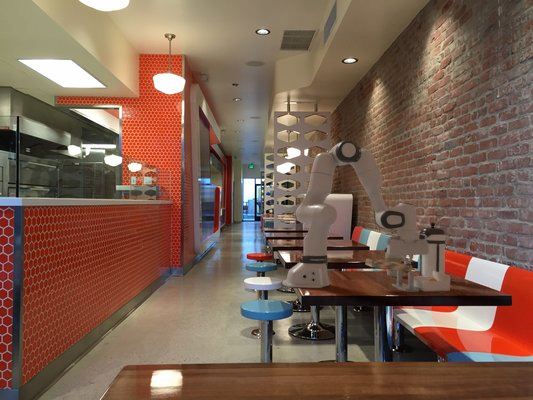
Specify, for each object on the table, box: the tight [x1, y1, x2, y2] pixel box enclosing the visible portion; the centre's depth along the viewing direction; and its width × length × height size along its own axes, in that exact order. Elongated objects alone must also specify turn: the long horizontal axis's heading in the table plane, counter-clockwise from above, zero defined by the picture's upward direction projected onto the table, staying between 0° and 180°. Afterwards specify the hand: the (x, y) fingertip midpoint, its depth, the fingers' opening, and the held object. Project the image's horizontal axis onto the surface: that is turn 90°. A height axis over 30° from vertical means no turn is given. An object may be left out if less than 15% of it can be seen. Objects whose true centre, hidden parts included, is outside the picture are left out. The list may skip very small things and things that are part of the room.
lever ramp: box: [365, 258, 417, 274], centre depth 197 cm, size 25×16×4 cm, turn 98°
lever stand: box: [391, 270, 420, 293], centre depth 194 cm, size 6×15×8 cm, turn 8°
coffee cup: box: [384, 247, 403, 278], centre depth 229 cm, size 10×10×15 cm
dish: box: [414, 271, 451, 292], centre depth 195 cm, size 13×14×7 cm
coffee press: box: [418, 222, 447, 276], centre depth 219 cm, size 17×16×30 cm
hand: (407, 264), depth 203 cm, fingers closed
